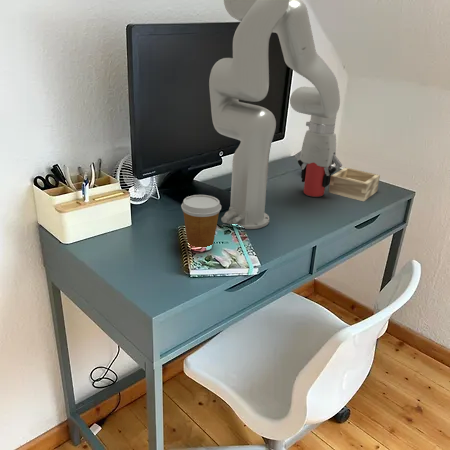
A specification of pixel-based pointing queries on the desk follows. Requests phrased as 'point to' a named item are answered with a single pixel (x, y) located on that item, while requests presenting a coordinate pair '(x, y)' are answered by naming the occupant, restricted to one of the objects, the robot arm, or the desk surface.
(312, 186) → the beer can
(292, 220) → the desk surface
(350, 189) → the wooden box
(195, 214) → the disposable coffee cup
